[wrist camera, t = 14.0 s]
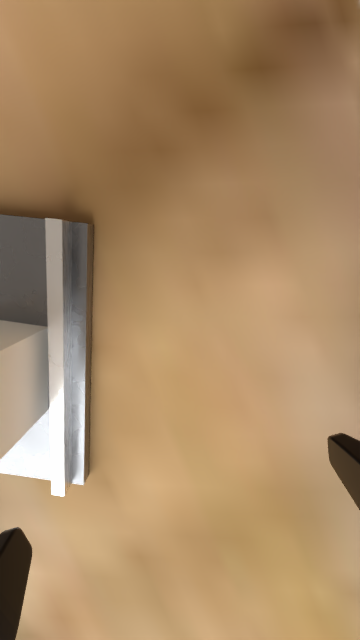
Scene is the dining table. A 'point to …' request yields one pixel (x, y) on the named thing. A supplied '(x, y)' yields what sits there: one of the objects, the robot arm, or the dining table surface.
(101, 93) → the dining table surface
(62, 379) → the rail plate
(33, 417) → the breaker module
